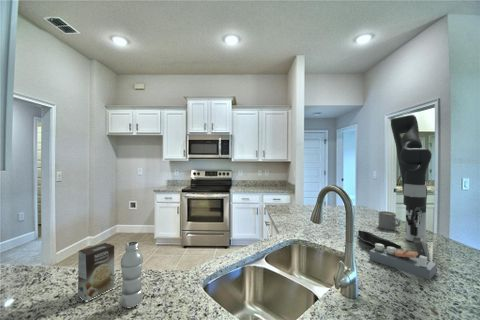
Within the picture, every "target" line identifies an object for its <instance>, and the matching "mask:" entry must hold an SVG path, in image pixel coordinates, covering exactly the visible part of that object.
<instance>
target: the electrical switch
mask: <svg viewBox="0 0 480 320" xmlns="http://www.w3.org/2000/svg"><path fill="white" fill-rule="evenodd" d="M413 244H414V247H415V249H416V252H418V255H417V256H418V257H419V256H425V257H427V261H429V262H431V257H430V253H429V250H428V244H427V242H425V241H424V238H423V236H420V238H414V242H413Z"/></svg>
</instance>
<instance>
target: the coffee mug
mask: <svg viewBox="0 0 480 320" xmlns="http://www.w3.org/2000/svg"><path fill="white" fill-rule="evenodd" d="M400 225H401V219H400V218H398V217H397V214H396V212H391V211H384V210H381V211H378V227H379V228H381V229H384V230H389V231H390V230H392V231H393V230H396V229H397V227H400Z"/></svg>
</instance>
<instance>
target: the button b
mask: <svg viewBox="0 0 480 320" xmlns="http://www.w3.org/2000/svg"><path fill="white" fill-rule="evenodd" d="M386 249H387V253H388V254H391V255H395V253H396V252H397V251H398V249H396V248H394V247H387V248H386Z"/></svg>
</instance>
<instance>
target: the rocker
mask: <svg viewBox="0 0 480 320" xmlns="http://www.w3.org/2000/svg"><path fill="white" fill-rule="evenodd" d="M395 256H401V257H410V258H417V256H419V255H418V252H417V251H412V250H411V251H410V250H409V249H406V250H402V249H398V250H397V252H396V253H395Z"/></svg>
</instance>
